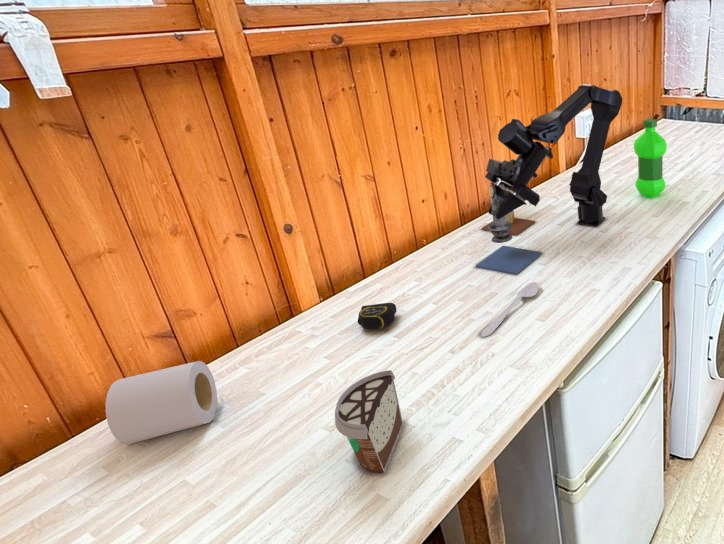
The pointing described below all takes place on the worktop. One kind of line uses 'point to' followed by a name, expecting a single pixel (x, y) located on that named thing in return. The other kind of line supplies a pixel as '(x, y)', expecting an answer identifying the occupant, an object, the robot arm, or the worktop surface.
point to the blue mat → (509, 259)
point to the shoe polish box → (509, 216)
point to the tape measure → (376, 316)
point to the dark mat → (515, 226)
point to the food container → (371, 419)
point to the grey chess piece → (499, 223)
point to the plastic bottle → (650, 160)
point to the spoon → (525, 292)
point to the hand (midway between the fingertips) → (493, 216)
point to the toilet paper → (161, 402)
